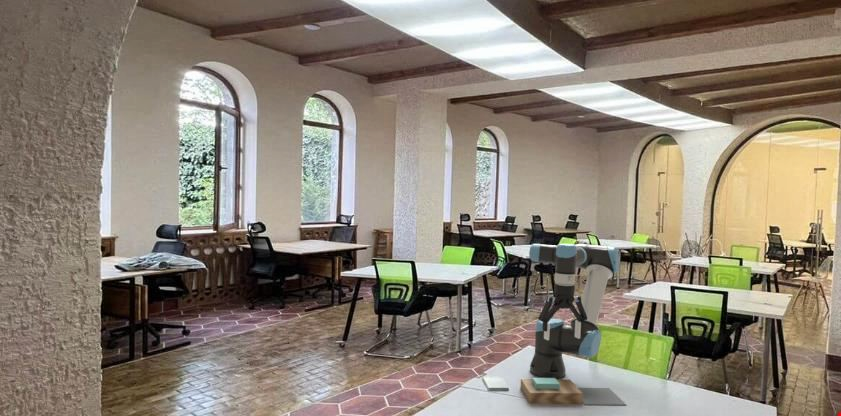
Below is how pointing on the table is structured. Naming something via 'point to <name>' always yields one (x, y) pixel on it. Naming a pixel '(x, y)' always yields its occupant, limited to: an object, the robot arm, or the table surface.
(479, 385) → the table surface
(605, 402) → the mat
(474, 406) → the table surface
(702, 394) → the table surface
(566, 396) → the deck
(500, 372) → the table surface
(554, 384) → the teal foam pad
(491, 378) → the hard drive
